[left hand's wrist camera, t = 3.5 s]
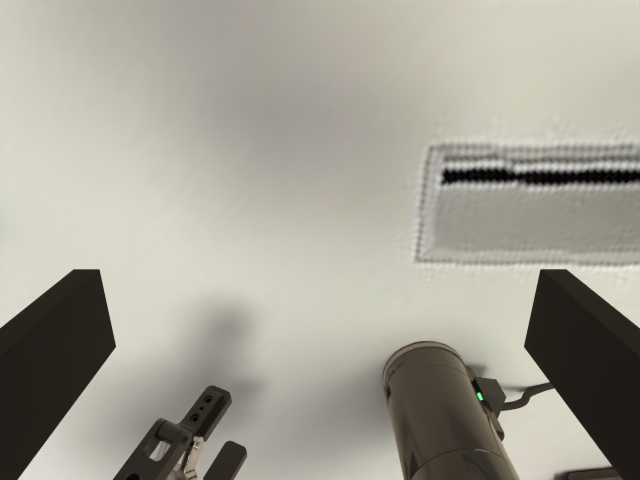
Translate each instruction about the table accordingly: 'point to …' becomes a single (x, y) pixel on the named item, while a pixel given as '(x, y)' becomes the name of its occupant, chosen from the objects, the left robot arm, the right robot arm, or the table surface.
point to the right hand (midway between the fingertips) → (230, 420)
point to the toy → (595, 475)
